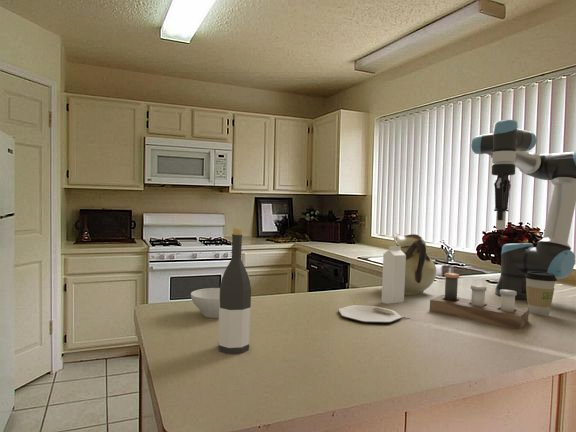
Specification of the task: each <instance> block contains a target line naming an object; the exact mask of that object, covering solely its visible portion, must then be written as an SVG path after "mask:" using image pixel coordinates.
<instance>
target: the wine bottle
mask: <svg viewBox="0 0 576 432" xmlns="http://www.w3.org/2000/svg"><path fill="white" fill-rule="evenodd" d="M232 232H233V233H232V234H231V237H232V238H231V241H232V242H231V259H230V261H229V263H228V265H227V267H226V268H225V270H224V272H223V275H222V276H221V281H220V286H219V288H220V301H219V318H218V333H217V336H218V337H217V340H218V341H217V344H218V352H220V353H224V354H226V355H235V354H236V355H239V354H243V353H245V352H247V351H249V349H250V338H251V337H250V336H251V335H250V333H251V332H250V331H251V310H252V309H251V306H252V305H251V304H252V303H251V302H252V287H251V281H250V278H249V275H248V271H247V269H246V267H245V265H244V263H243V260H242V247H243V246H242V243H243V234H242V228H233V229H232Z"/></svg>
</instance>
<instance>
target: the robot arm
mask: <svg viewBox="0 0 576 432" xmlns="http://www.w3.org/2000/svg"><path fill="white" fill-rule="evenodd" d="M537 140H538V139H537V136H536V134H535V133H534V132H532V131H529V130H527V129H526V130H524V129H521V128H519V126H518V121H517V120H514V119H502V120H498V121H496V122H495V123H494V124H493V132H492V133H487V134H480V135H477V136H474V137H473V138H472V141H471V145H470V147H471V149H472V152H473V153H474V154H475V155H483V154H486V155H487V156H490V158H491V159H492V160H491V162H492V165H491V175H493V176H497V177H496V180H495V182H494V185H493V186H494V206H495V207H494V209H493V210H494V212H496V215H495V216H496V219H495V220H496V221H495V230H503V231H505V230H506V220H507V219H506V218H507V212H509V198H510V191H511V187H512V186H511V185H512V184H511V180H510V179H509V176H514V175H515V174H516V169H518V170H519V171H520V173H523V174H524V175H526V176H529V177H532V178H536V179H539V180H543V181H550V182H551V184H552V185H553V191H552V196H551V200H550V205H549V209H548V214H547V218H546V221H545V222H546V223H545V228H544V232H543V237H542V239H540V240H538V241H537V243H536V246H534V244H533V243H531V242H528V243H525V242H524V243H521V242H520V243H505V244H503V245H502V247H501V253H500V256H501V259H500V260H501V262H500V276H499V279H498V282H497V284H496V287H495V291H494V293H495V295H498V296H499V297H501V294H500V290H501V289H505V290H513V291H516V292H517V295H516V296H515V300H516V299H517V300H527V292H526V278H525V275H526V274H527V272H528V271H537V272H546V273H552V274H555V278H556V279H565V278H567V277H568V276H569V275H570V274H571V273H572V272H573V271H574V267H575V264H576V255H575V253H574V252H573V250H572V251H571V249H572V247H571V246H570V244H568V242H569V237H570V232H571V227H572V222H573V217H574V214H575V208H576V151H575V150H574V151H568V152H555V153H541V154H538V153H536V152H529V151H531V150H532V149H533V148H534V147H535V146H536V144H537Z"/></svg>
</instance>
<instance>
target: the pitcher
mask: <svg viewBox="0 0 576 432" xmlns="http://www.w3.org/2000/svg"><path fill="white" fill-rule="evenodd" d="M393 240H394V243H395V246H401V251H402V252H403V253H404V254H405V255H406V265H405V288H404V296H414V295H417V294H424V291H426V290H427V289H429V288H430V287H431V286H432V284H433V283H434V282H435V280H436V277H437V266H436V264H435V263H434V261H433V260H432V259H431V257H430V256H429V255H428V253H427V244H426V242H425V240H424V239H423V237H422V236H420V235H418V234H417V233H416V234H415V233H414V234H413V233H412V234H407V235H402V234H401V235H400V234H398V233H394V234H393Z"/></svg>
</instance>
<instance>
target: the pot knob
mask: <svg viewBox="0 0 576 432" xmlns="http://www.w3.org/2000/svg"><path fill="white" fill-rule="evenodd" d="M444 277H445V282H444V295H445V300H449V301H457V297H458V285H459V284H458V283H459V278H460V274H459V273H454V272H445V273H444Z"/></svg>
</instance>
